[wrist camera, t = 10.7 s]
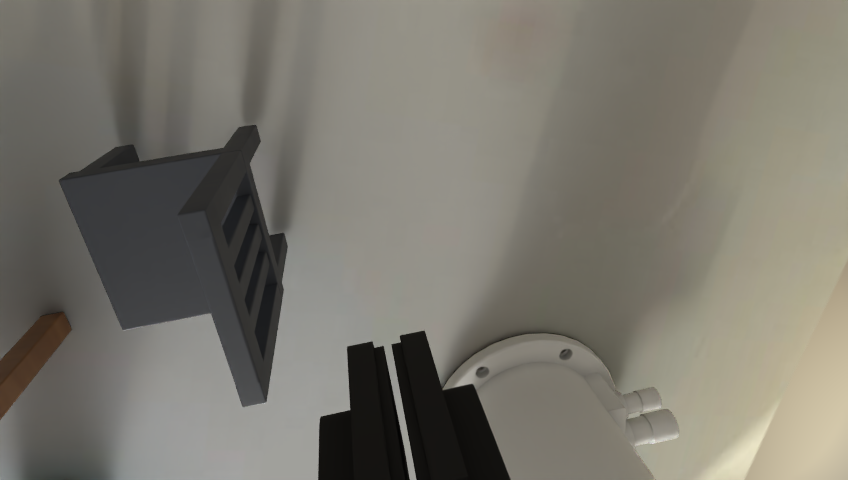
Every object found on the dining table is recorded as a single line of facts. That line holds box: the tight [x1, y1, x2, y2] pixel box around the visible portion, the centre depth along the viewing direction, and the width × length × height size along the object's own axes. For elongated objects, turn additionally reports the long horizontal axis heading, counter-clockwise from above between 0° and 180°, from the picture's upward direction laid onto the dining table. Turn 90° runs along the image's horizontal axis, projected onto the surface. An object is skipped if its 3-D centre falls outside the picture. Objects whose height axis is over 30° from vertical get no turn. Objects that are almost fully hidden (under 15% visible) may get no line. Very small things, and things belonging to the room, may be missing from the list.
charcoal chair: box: [59, 125, 288, 407], centre depth 22 cm, size 7×7×13 cm
